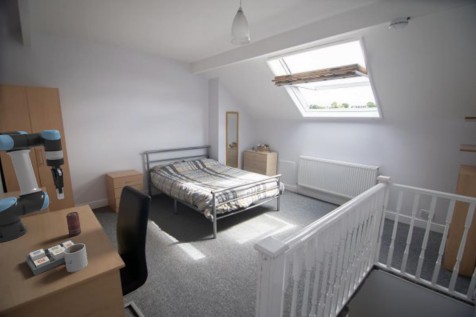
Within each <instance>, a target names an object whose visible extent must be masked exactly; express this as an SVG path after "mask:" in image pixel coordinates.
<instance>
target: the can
mask: <svg viewBox="0 0 476 317" xmlns="http://www.w3.org/2000/svg"><path fill="white" fill-rule="evenodd" d="M79 215H80V214H79V213H78V212H77V211H72V212H68V213H67V214H66V216H65V217H66V223H67V229H68V230H67V232H68V236H70V237H76V236H80V234H81V233H82V229H81V222H80V216H79Z"/></svg>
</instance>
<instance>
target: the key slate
mask: <svg viewBox="0 0 476 317" xmlns="http://www.w3.org/2000/svg"><path fill="white" fill-rule="evenodd" d="M28 255H30V258H31V260H32V261H33V262H34V261H36V260H39V259H41V258H44V257H46V255H45V252H44V250H43V248H40V249H38V250H35V251H31V252H29V254H28Z"/></svg>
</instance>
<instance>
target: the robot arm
mask: <svg viewBox="0 0 476 317" xmlns="http://www.w3.org/2000/svg"><path fill="white" fill-rule="evenodd" d="M61 138H62V137H61V134H60V131H59V130H58V129H44V130H42V131H39V132H38V131H37V132H34V133H33V132H31V133H29V132H27V131H22V130H20V131H19V130H14V131H0V152H5V154H6V155H7V156H10V158H11V162H12V166H13V169H14V173H15V175H16V179H17V182H18V186H19V189H20V193H19V194H18V198H17V197H15V196H9V197H5V198H1V199H0V243H3V242H8V241H12V240H15V239H17V238H20V237H22V236H24V235H25V234H27V232H28V228H27V227H26V225H25V223H24V222H23V221H22V219H21V217H23V216H26V215H30V214H33V213H36V212H40V211H43V210H45V209H47V208H48V207H49V205H50V198H49V195H48V192H47V191H43V189H41V187H40V188H39V185H38V181H37V178H36V174H35V172H34V168H33V165H32V160H31V157H30V154H29V153H30V152H31V151H32V148H39V147H40V148H41V147H43V149H44V150H43V151H44V153H43V156H45V158H46V159H45V163H46V166H47V167H51V168H50V173H51V176H52V180H53V185H54V187H55V188H54V189H55V191H56V195H57V196H56V197H57V199H58V200H62V199H65V193H64V187H65V186H64V184H65V182H64V172H63V168H62V167H61V166H63V165H65V159H64V158H63V157H64V152H63V147H62V139H61Z"/></svg>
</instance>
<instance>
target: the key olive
mask: <svg viewBox="0 0 476 317" xmlns="http://www.w3.org/2000/svg"><path fill="white" fill-rule="evenodd" d="M56 245H57V244H56ZM48 248H49V247H48ZM59 248H62V247H61V246H60V245H57V246H55V247H52V248H49V249H48V252H49V255H50V256H51V257H53V256H52V251H54V250H57V249H59Z"/></svg>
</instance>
